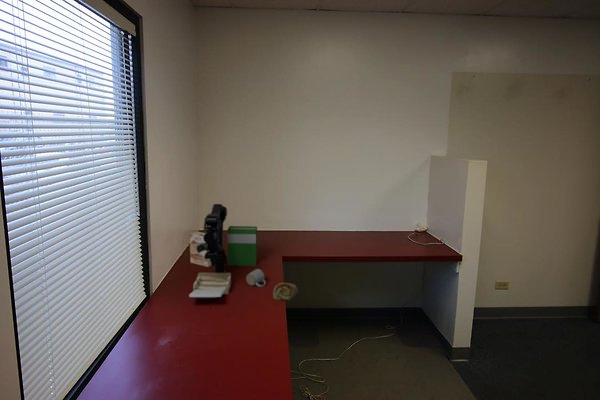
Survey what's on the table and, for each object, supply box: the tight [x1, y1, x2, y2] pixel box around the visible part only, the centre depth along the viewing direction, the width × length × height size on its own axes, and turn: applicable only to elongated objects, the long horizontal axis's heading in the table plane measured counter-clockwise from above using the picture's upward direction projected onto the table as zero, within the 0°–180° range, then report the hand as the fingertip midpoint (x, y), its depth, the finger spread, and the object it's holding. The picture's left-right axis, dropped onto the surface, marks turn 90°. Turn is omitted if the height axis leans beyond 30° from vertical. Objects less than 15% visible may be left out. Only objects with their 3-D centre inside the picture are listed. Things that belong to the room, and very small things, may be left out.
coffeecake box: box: [189, 231, 212, 268], centre depth 233 cm, size 15×7×20 cm, turn 62°
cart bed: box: [192, 272, 232, 295], centre depth 198 cm, size 13×18×6 cm
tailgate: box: [188, 290, 224, 299], centre depth 183 cm, size 2×15×13 cm
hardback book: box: [227, 225, 258, 267], centre depth 234 cm, size 18×7×24 cm, turn 91°
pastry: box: [272, 282, 299, 302], centre depth 191 cm, size 14×12×8 cm
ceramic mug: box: [245, 268, 267, 288], centre depth 204 cm, size 11×8×8 cm
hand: (213, 266), depth 198 cm, fingers closed
